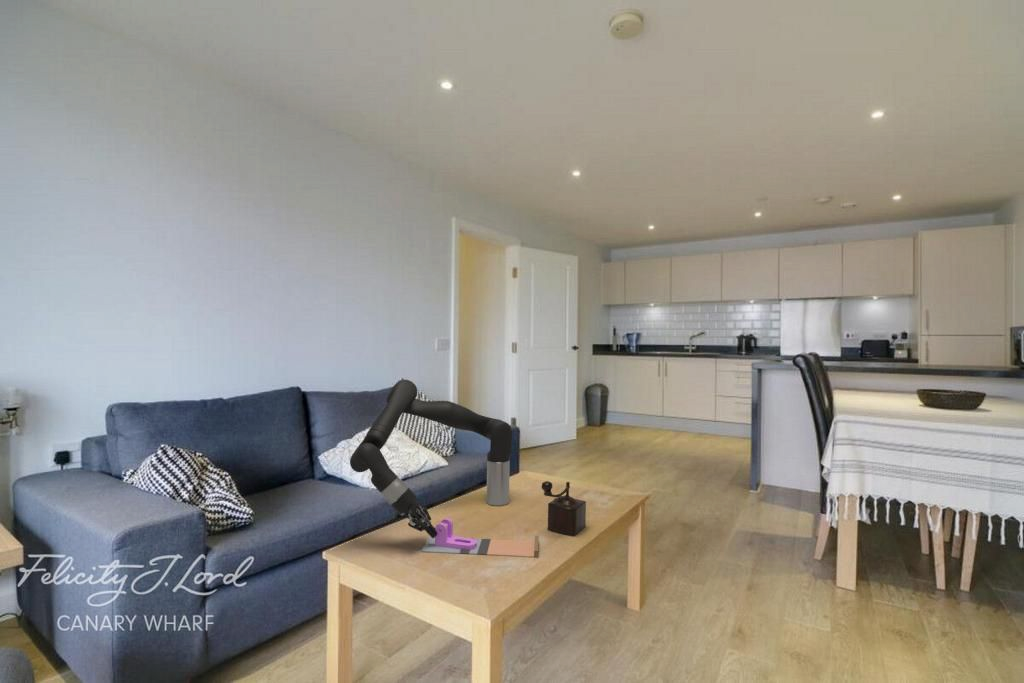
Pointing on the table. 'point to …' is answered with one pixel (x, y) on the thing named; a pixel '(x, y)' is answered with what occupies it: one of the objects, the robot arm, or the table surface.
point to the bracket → (452, 537)
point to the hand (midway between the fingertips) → (435, 535)
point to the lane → (490, 547)
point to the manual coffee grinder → (565, 512)
